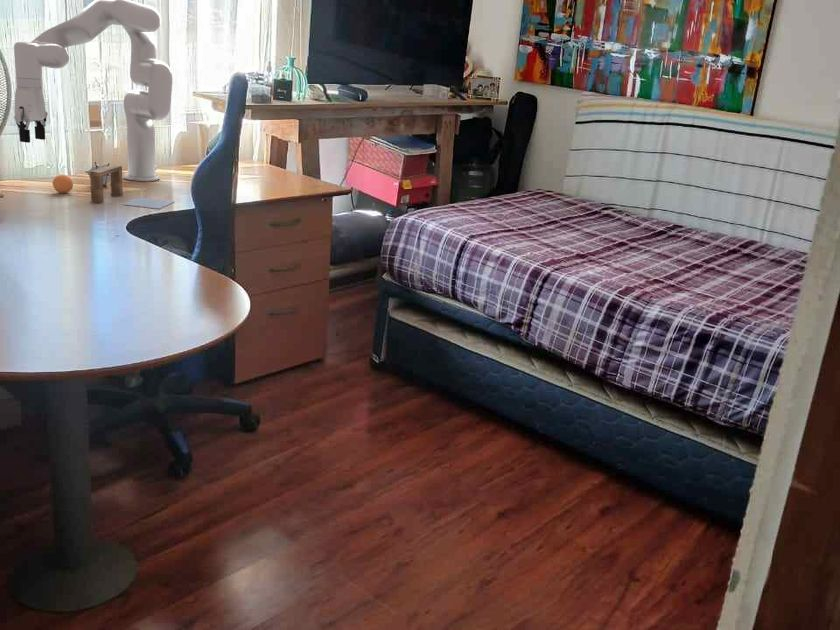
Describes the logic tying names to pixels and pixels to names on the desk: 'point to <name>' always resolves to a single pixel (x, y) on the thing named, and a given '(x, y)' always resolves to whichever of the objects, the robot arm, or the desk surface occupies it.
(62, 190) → the ball
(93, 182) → the bridge
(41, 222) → the desk surface
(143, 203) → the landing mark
